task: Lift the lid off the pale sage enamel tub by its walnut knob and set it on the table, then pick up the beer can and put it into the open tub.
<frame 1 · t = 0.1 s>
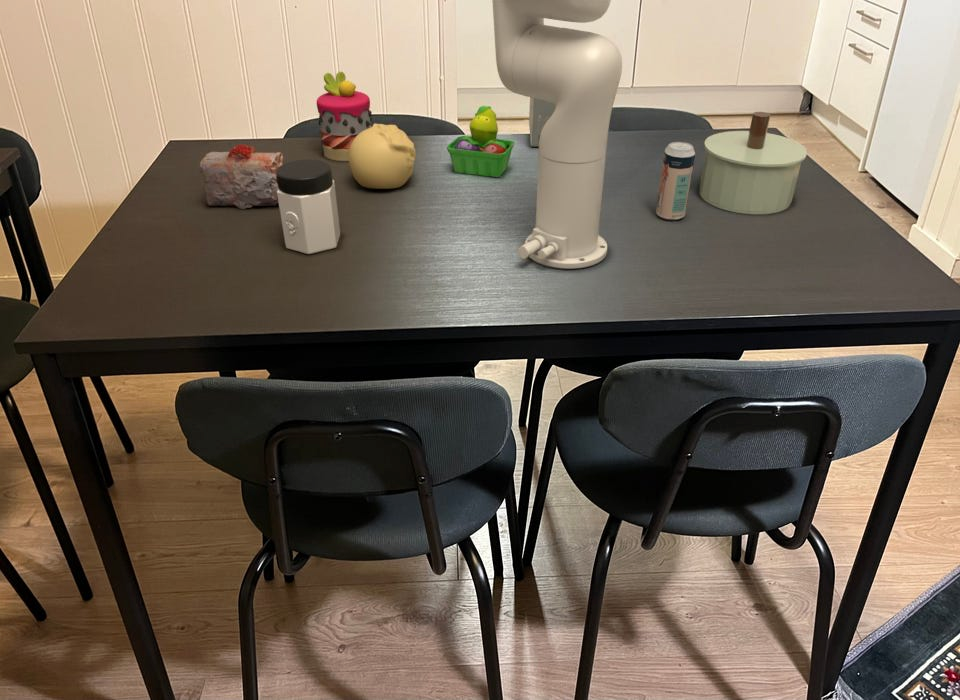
jar: (313, 243, 119), on the table
beer can: (670, 217, 127), on the table
sculpture: (384, 184, 139), on the table
fruit basket: (481, 170, 145), on the table
food item: (249, 202, 132), on the table
tub: (744, 196, 134), on the table
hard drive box: (547, 136, 161), on the table
cake: (348, 153, 152), on the table
tub lid: (754, 149, 129), point 8 cm above the table, touching tub
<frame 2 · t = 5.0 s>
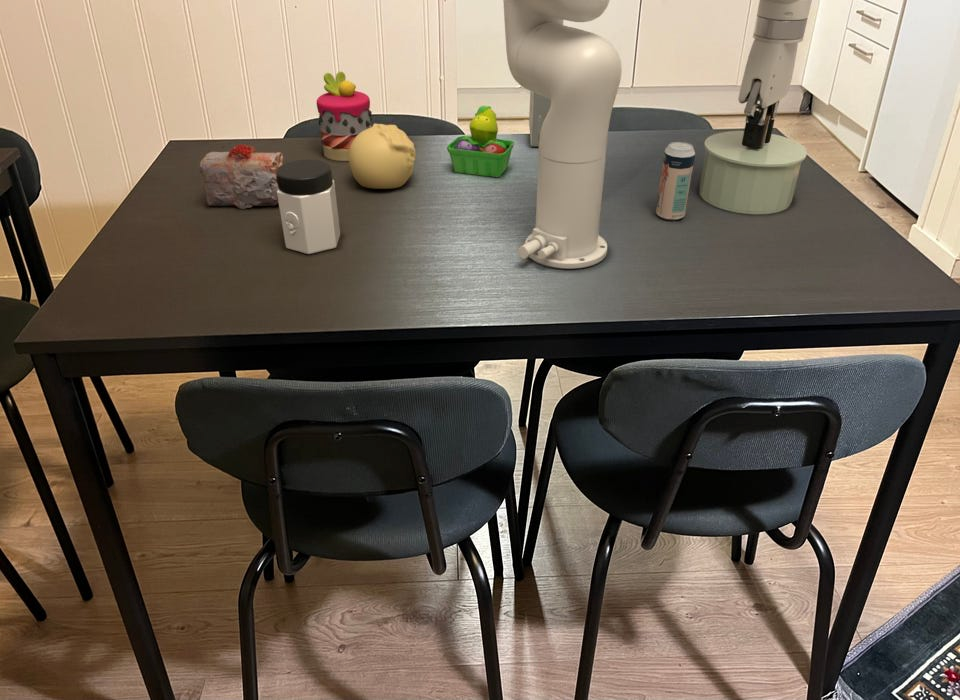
hand: (755, 143, 128), 10 cm above the table, tool pointing down, fingers closed on tub lid, 2 cm apart
tub lid: (754, 149, 129), point 9 cm above the table, touching gripper, tub
everything else where it was.
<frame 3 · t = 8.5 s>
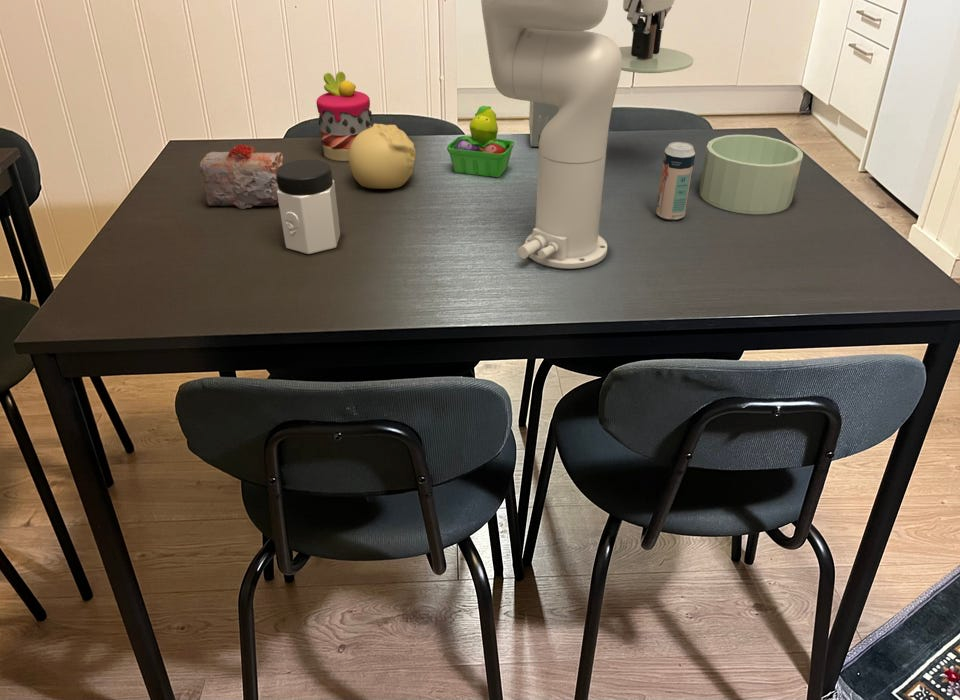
hand: (645, 53, 132), 21 cm above the table, tool pointing down, fingers closed on tub lid, 2 cm apart
tub lid: (644, 60, 133), point 20 cm above the table, touching gripper
everything else where it was.
when the fingers open (2 cm above the table, at t = 12.2 s): tub lid stays where it is, point 1 cm above the table.
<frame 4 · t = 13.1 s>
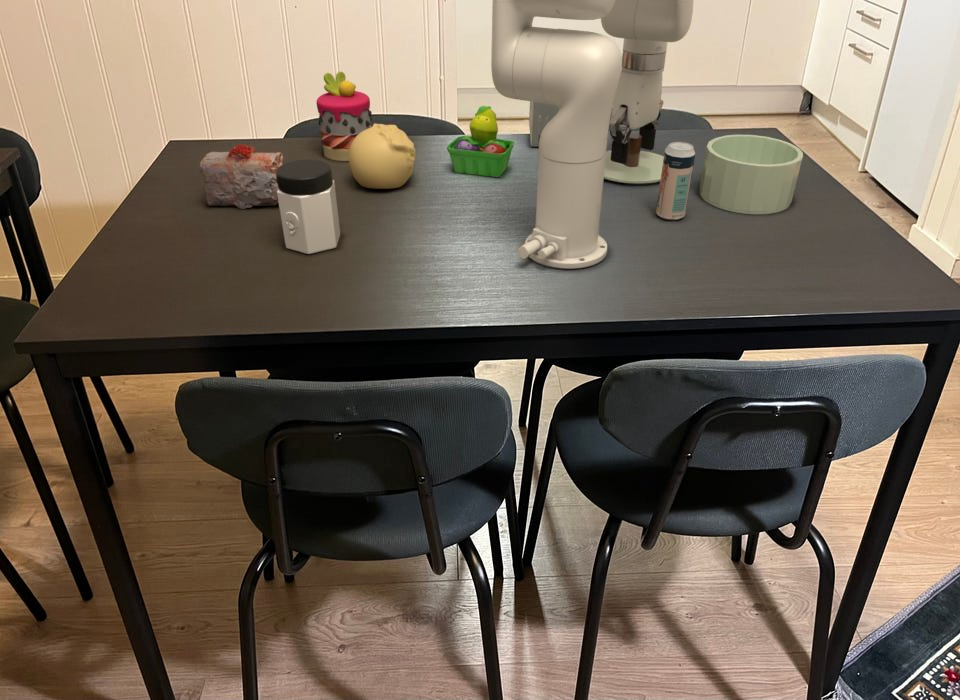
hand: (632, 155, 142), 3 cm above the table, tool pointing down, fingers open, 9 cm apart
tub lid: (631, 167, 144), point 1 cm above the table
everything else where it was.
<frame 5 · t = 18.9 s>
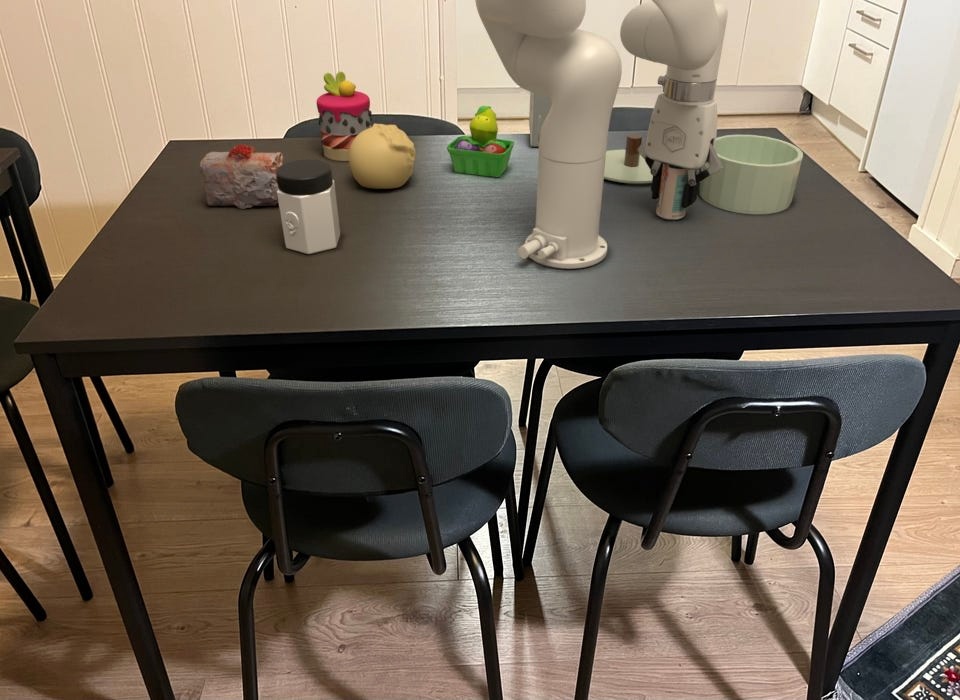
hand: (672, 200, 125), 3 cm above the table, tool pointing down, fingers closed on beer can, 4 cm apart
beer can: (670, 216, 127), on the table, touching gripper
everything else where it was.
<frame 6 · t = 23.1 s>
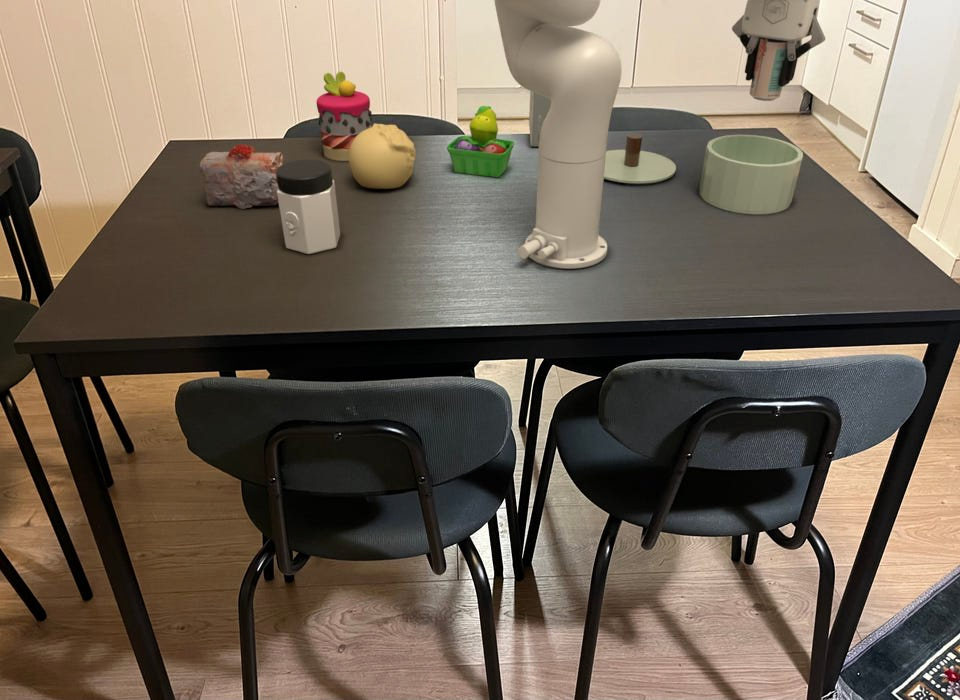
hand: (767, 80, 122), 20 cm above the table, tool pointing down, fingers closed on beer can, 4 cm apart
beer can: (763, 98, 124), point 17 cm above the table, touching gripper
everything else where it was.
when the fingers open (3 cm above the table, at t = 27.3 s): beer can stays where it is, resting on tub.
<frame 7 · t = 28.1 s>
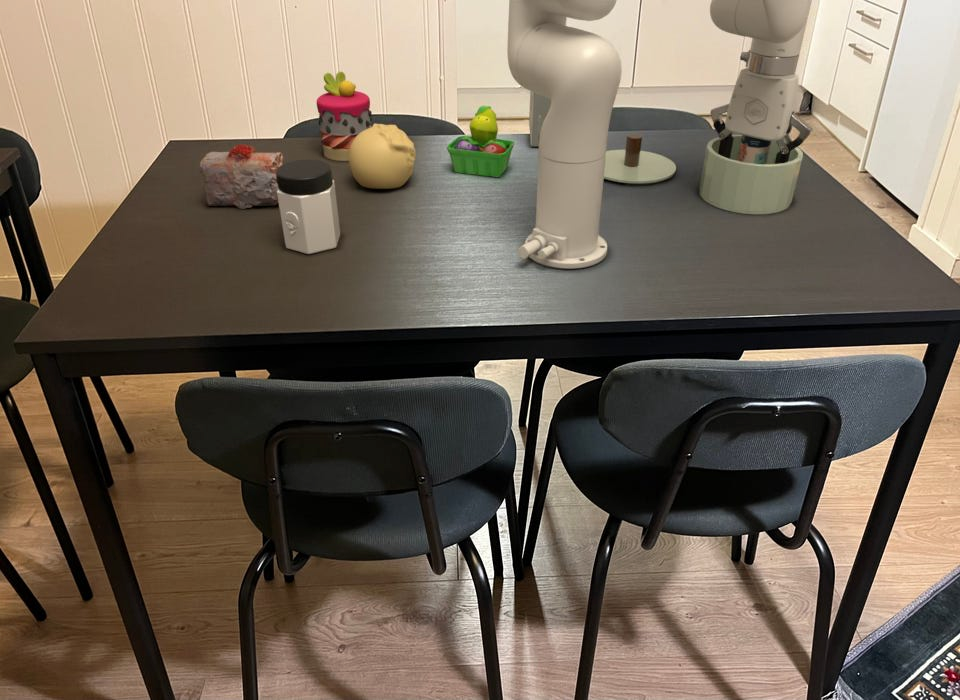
hand: (750, 167, 130), 5 cm above the table, tool pointing down, fingers open, 9 cm apart
beer can: (744, 194, 133), resting on tub
everything else where it was.
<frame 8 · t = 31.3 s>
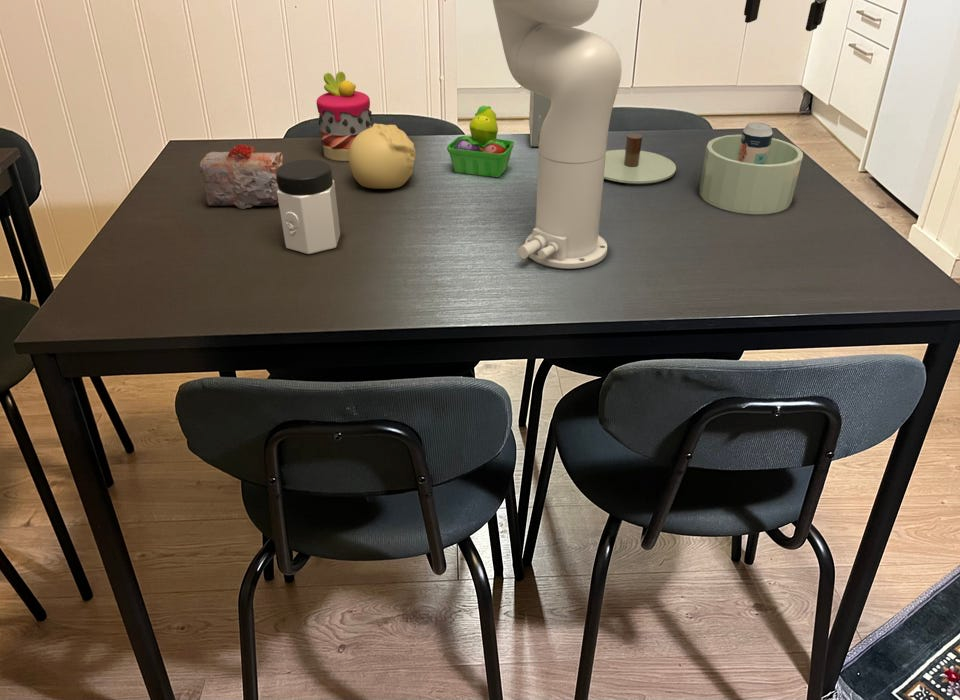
hand: (780, 25, 118), 28 cm above the table, tool pointing down, fingers open, 9 cm apart
nothing on the table moved.
at the end: tub lid inside the target area (0.1 cm from its centre), point 0.6 cm above the table; beer can inside the target area in the tub (0.0 cm from its centre), point 0.3 cm above the tub's base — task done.
